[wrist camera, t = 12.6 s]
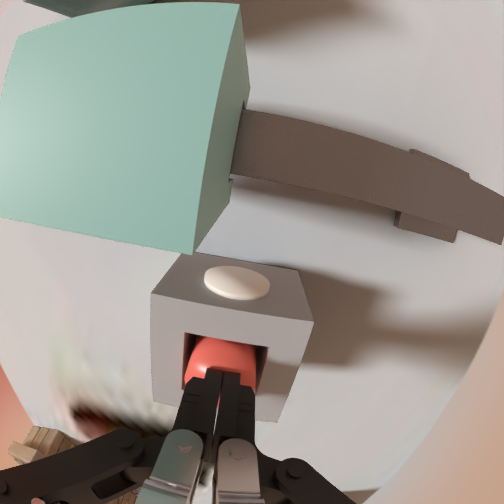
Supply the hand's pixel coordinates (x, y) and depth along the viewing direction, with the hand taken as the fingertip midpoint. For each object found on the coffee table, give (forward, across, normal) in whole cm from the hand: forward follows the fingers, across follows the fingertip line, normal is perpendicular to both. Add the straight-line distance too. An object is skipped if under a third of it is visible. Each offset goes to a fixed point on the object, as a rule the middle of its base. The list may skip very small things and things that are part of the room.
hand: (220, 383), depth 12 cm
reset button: (+4, 0, 0) cm, 4 cm away
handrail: (+7, -1, -10) cm, 12 cm away
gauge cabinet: (+7, 0, 0) cm, 7 cm away
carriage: (+3, +4, -10) cm, 11 cm away
